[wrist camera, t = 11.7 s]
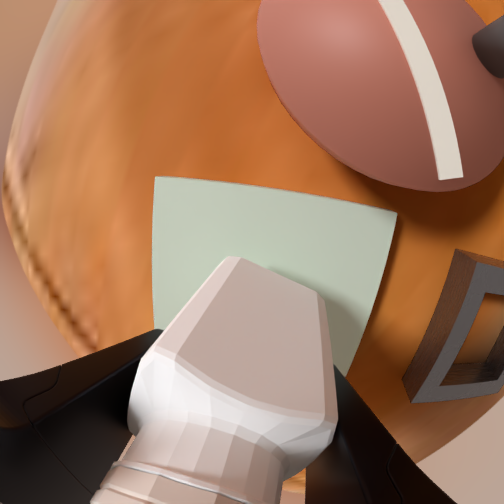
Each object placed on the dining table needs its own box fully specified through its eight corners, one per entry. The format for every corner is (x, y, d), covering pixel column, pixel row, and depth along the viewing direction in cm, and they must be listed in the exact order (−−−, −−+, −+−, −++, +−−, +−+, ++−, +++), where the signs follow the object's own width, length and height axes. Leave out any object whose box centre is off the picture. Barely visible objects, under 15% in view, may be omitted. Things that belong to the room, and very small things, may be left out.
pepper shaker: (196, 327, 11) (68, 525, 2) (229, 244, 10) (12, 499, 1) (281, 365, 11) (237, 588, 2) (329, 291, 10) (354, 597, 1)
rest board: (391, 210, 10) (397, 213, 10) (339, 376, 13) (341, 386, 12) (163, 175, 11) (155, 176, 11) (162, 342, 14) (156, 350, 13)
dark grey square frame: (534, 270, 9) (552, 282, 7) (486, 375, 12) (497, 392, 10) (455, 248, 10) (477, 262, 8) (401, 379, 13) (410, 403, 11)
